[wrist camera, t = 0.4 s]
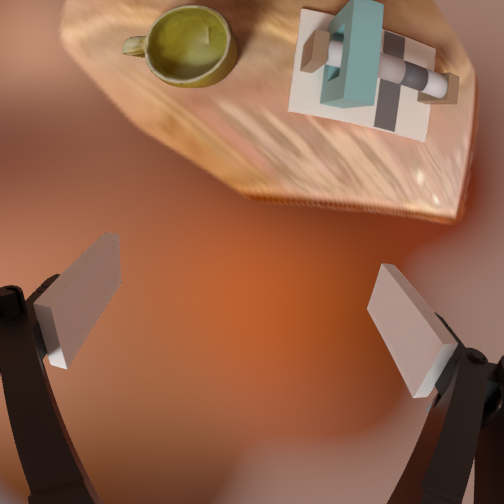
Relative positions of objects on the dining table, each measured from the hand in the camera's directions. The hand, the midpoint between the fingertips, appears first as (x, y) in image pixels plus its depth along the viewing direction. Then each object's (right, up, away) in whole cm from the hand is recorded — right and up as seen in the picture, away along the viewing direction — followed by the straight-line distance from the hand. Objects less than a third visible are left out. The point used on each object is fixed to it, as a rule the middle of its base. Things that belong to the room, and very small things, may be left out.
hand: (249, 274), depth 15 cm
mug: (-8, +25, +18) cm, 32 cm away
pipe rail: (+15, +23, +19) cm, 34 cm away
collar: (+10, +23, +17) cm, 31 cm away
